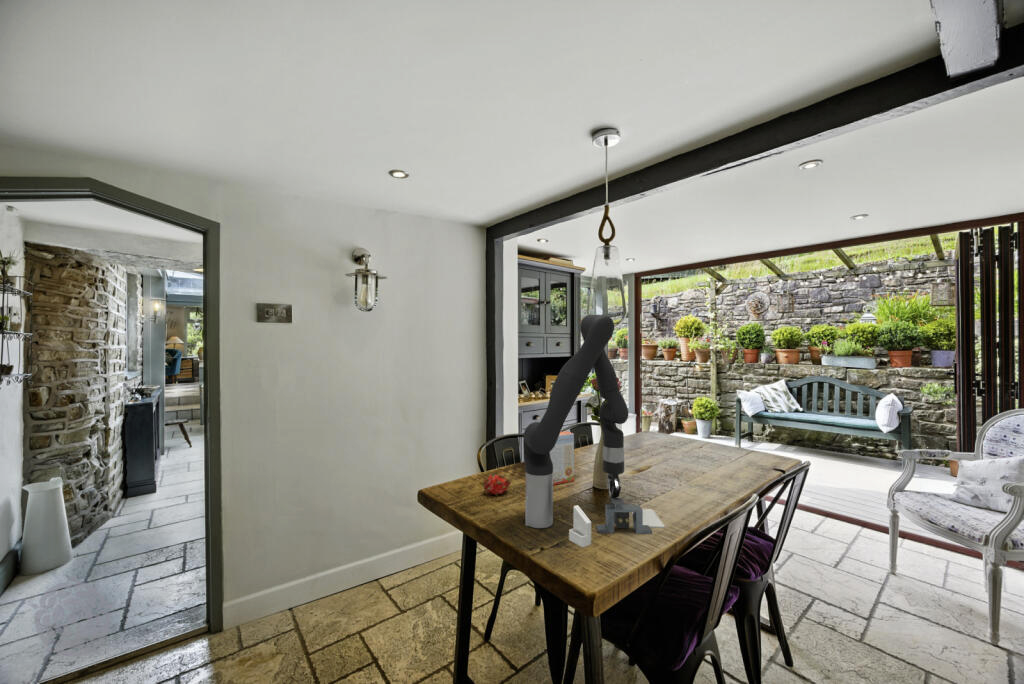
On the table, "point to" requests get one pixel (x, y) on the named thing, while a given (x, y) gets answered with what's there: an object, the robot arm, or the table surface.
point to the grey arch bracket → (636, 510)
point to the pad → (651, 519)
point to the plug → (620, 514)
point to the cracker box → (563, 458)
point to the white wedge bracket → (580, 528)
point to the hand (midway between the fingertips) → (613, 506)
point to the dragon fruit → (496, 484)
